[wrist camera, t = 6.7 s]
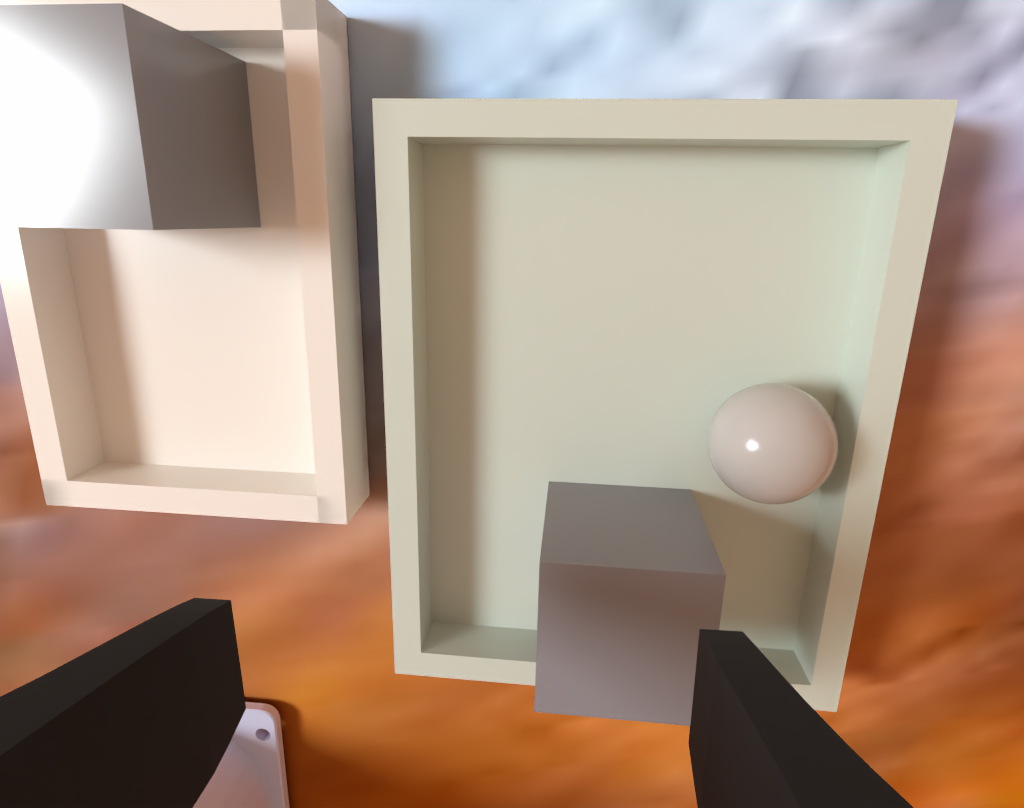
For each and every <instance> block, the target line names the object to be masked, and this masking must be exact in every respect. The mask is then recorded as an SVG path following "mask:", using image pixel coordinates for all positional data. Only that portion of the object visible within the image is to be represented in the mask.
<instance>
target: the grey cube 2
mask: <svg viewBox="0 0 1024 808" xmlns="http://www.w3.org/2000/svg"><path fill="white" fill-rule="evenodd" d="M725 580H726V574H725V571H724V569H723V566H722V564H721V561H720V559H719V557H718V554H717V552H716V549H715V547H714V545H713V542H712V540H711V537H710V535H709V533H708V530H707V528H706V525H705V523H704V520H703V518H702V516H701V513H700V511H699V508H698V506H697V504H696V501H695V499H694V496H693V494H692V491H691V489H675V488H658V487H640V486H623V485H606V484H588V483H571V482H553V481H549V484H548V493H547V501H546V510H545V519H544V527H543V536H542V545H541V554H540V563H539V591H538V620H537V649H536V677H535V706H534V712H543V713H554V714H565V715H576V716H587V717H598V718H609V719H620V720H631V721H642V722H653V723H664V724H675V725H686V726H690V724H691V714H692V703H693V693H694V682H695V672H696V661H697V651H698V641H699V630H700V629H710V630H719V626H720V619H721V611H722V603H723V595H724V588H725Z"/></svg>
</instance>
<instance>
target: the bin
mask: <svg viewBox="0 0 1024 808" xmlns="http://www.w3.org/2000/svg"><path fill="white" fill-rule="evenodd" d="M957 103H958V100H881V99H410V98H372V108H373V133H374V158H375V183H376V208H377V233H378V259H379V284H380V309H381V334H382V359H383V384H384V409H385V434H386V460H387V485H388V510H389V535H390V560H391V585H392V610H393V636H394V661H395V673H397V674H409V675H420V676H431V677H443V678H454V679H466V680H477V681H489V682H500V683H512V684H523V685H535V677H536V649H537V620H538V591H539V563H540V554H541V545H542V536H543V527H544V519H545V510H546V501H547V493H548V484H549V481H553V482H571V483H588V484H606V485H623V486H640V487H658V488H675V489H691V491H692V494H693V496H694V499H695V501H696V504H697V506H698V508H699V511H700V513H701V516H702V518H703V520H704V523H705V525H706V528H707V530H708V533H709V535H710V537H711V540H712V542H713V545H714V547H715V549H716V552H717V554H718V557H719V559H720V561H721V564H722V566H723V569H724V571H725V574H726V580H725V588H724V595H723V603H722V611H721V619H720V626H719V630H727V631H743V632H744V633H745V634H746V636H747V637H748V638H749V639H750V640H751V641H752V642H753V643H754V644H755V645H756V647H757V648H758V649H759V650H760V651H761V652H762V653H763V654H764V655H765V657H766V658H767V659H768V660H769V661H770V662H771V663H772V664H773V665H774V667H775V668H776V669H777V670H778V671H779V672H780V673H781V674H782V675H783V677H784V678H785V679H786V680H787V681H788V682H789V683H790V684H791V685H792V686H793V688H794V689H795V690H796V691H797V692H798V693H799V694H800V695H801V696H802V697H803V699H804V700H805V701H806V702H807V703H808V704H809V705H810V706H811V707H812V708H813V709H814V710H821V711H832V712H837V707H838V702H839V697H840V692H841V687H842V682H843V677H844V672H845V667H846V662H847V657H848V652H849V647H850V642H851V637H852V632H853V627H854V622H855V617H856V612H857V607H858V602H859V597H860V591H861V586H862V581H863V576H864V571H865V566H866V561H867V556H868V551H869V546H870V541H871V536H872V531H873V526H874V521H875V516H876V511H877V506H878V501H879V496H880V491H881V486H882V481H883V476H884V471H885V466H886V461H887V456H888V451H889V446H890V441H891V436H892V430H893V425H894V420H895V415H896V410H897V405H898V400H899V395H900V390H901V385H902V380H903V375H904V370H905V365H906V360H907V355H908V350H909V345H910V340H911V335H912V330H913V325H914V320H915V315H916V310H917V305H918V300H919V295H920V290H921V285H922V280H923V274H924V269H925V264H926V259H927V254H928V249H929V244H930V239H931V234H932V229H933V224H934V219H935V214H936V209H937V204H938V199H939V194H940V189H941V184H942V179H943V174H944V169H945V164H946V159H947V154H948V149H949V144H950V139H951V134H952V129H953V124H954V119H955V113H956V108H957ZM763 383H779V384H785V385H790V386H793V387H796V388H799V389H801V390H803V391H804V392H806V393H808V394H810V395H811V396H813V397H814V398H815V399H817V400H818V401H819V402H820V403H821V404H822V405H823V406H824V408H825V409H826V410H827V412H828V413H829V415H830V416H831V418H832V420H833V422H834V425H835V428H836V431H837V436H838V455H837V459H836V462H835V465H834V467H833V470H832V472H831V474H830V475H829V477H828V478H827V480H826V481H825V482H824V483H823V484H822V485H821V486H820V487H819V488H818V489H817V490H816V491H814V492H813V493H812V494H810V495H808V496H807V497H805V498H802V499H800V500H797V501H795V502H791V503H786V504H762V503H758V502H754V501H751V500H749V499H746V498H744V497H742V496H740V495H738V494H737V493H735V492H734V491H732V490H731V489H730V488H729V487H727V486H726V485H725V484H724V483H723V481H722V480H721V479H720V478H719V476H718V475H717V473H716V472H715V470H714V468H713V466H712V464H711V461H710V458H709V454H708V447H707V440H708V431H709V427H710V424H711V421H712V419H713V417H714V415H715V413H716V412H717V410H718V409H719V407H720V406H721V405H722V404H723V403H724V402H725V401H726V400H727V399H728V398H729V397H730V396H732V395H733V394H735V393H736V392H738V391H740V390H742V389H744V388H747V387H750V386H753V385H757V384H763Z"/></svg>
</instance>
